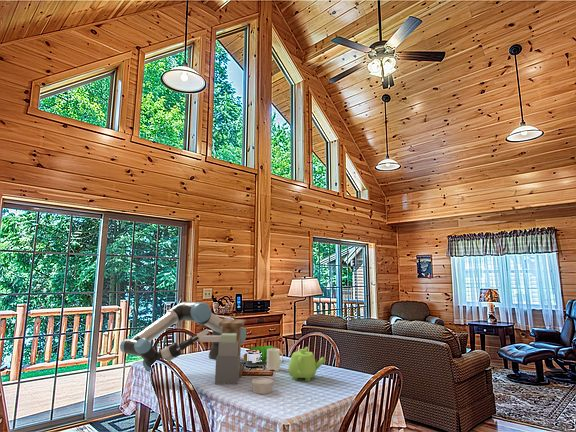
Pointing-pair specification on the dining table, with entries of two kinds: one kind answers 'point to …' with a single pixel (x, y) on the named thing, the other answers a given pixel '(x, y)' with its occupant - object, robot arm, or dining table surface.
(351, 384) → the dining table surface
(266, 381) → the ramekin
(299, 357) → the teapot
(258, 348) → the decorative tree
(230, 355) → the stepped grey block
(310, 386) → the dining table surface
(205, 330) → the robot arm
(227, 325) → the walnut stand
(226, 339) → the handled block
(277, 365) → the mug
